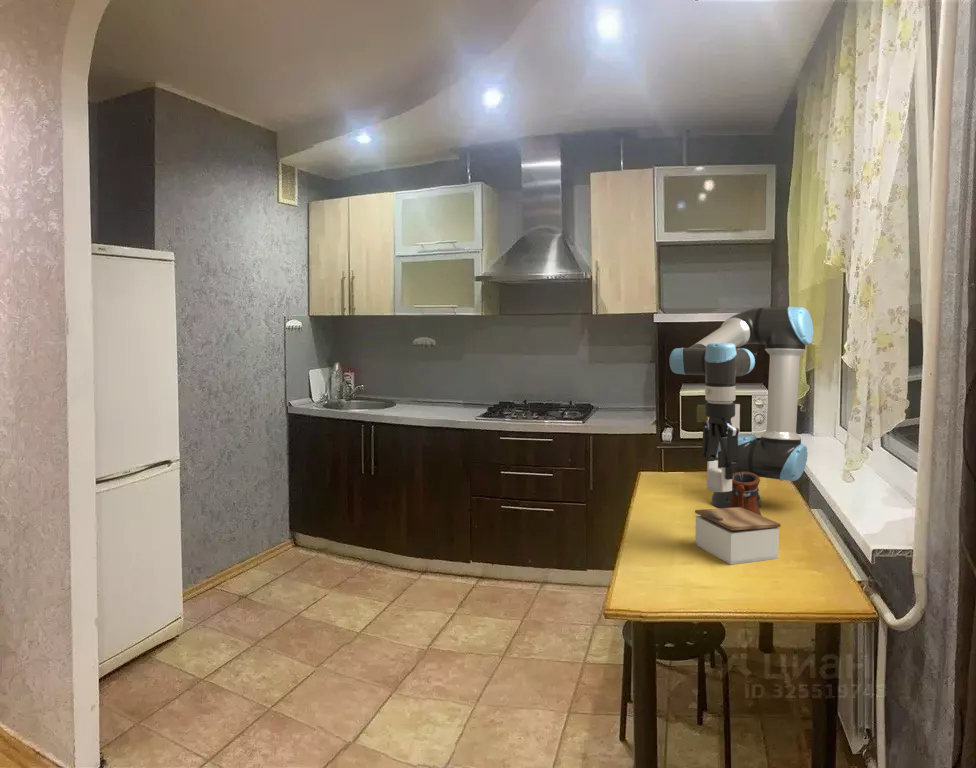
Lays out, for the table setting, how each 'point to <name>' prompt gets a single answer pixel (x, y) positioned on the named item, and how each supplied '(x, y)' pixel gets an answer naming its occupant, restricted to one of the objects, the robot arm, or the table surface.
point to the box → (737, 542)
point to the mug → (745, 491)
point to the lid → (737, 518)
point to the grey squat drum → (714, 479)
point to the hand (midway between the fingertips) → (719, 487)
